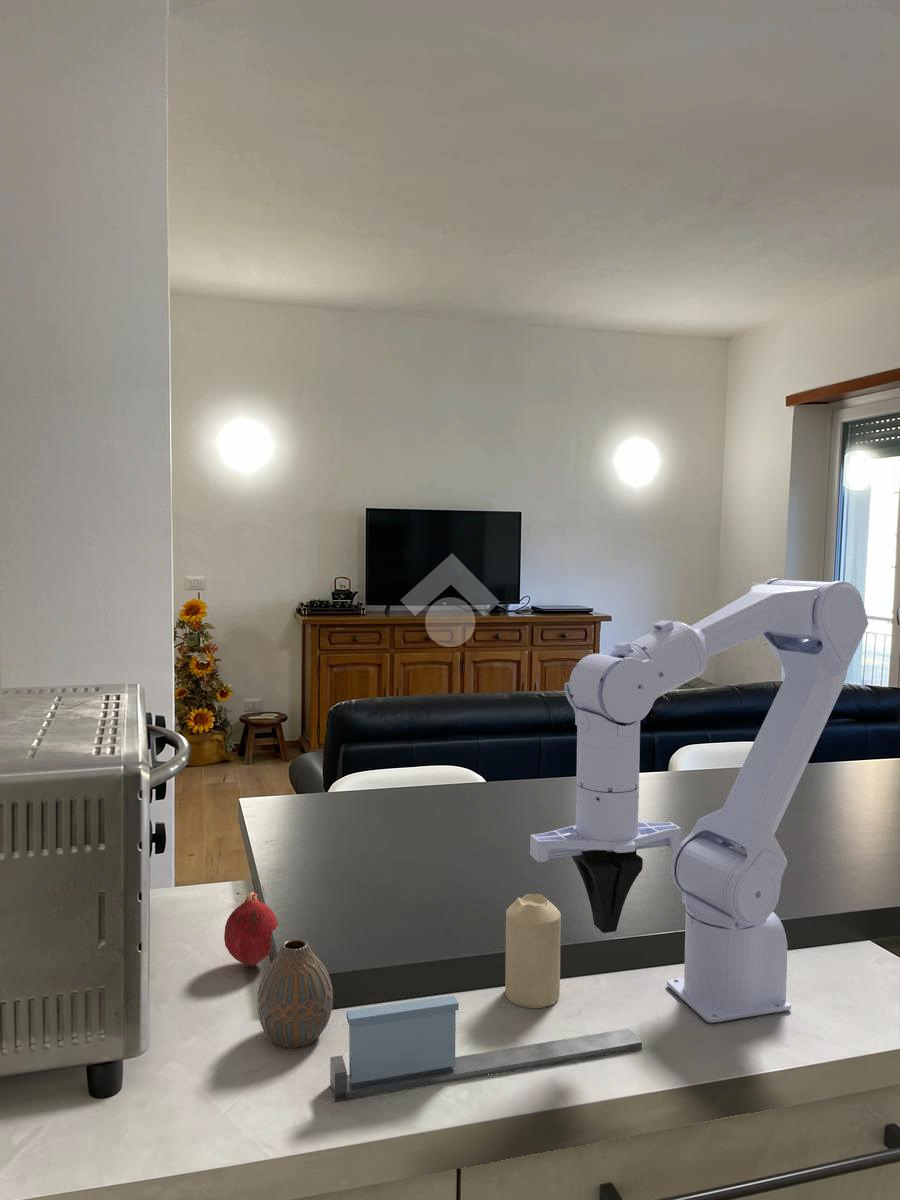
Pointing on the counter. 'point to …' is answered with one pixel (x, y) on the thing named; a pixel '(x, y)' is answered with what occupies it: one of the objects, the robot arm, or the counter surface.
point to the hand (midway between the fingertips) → (605, 927)
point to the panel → (401, 1038)
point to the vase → (295, 996)
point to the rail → (486, 1063)
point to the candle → (533, 952)
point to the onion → (250, 931)
